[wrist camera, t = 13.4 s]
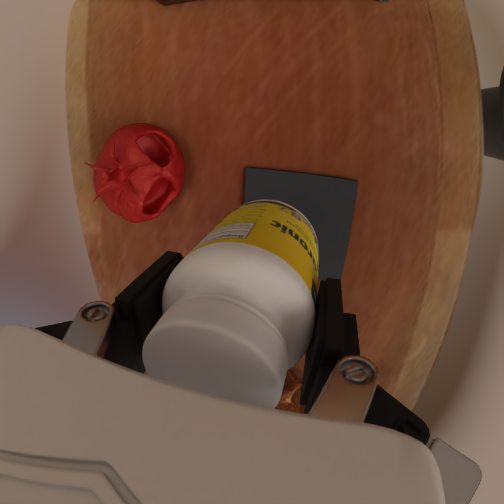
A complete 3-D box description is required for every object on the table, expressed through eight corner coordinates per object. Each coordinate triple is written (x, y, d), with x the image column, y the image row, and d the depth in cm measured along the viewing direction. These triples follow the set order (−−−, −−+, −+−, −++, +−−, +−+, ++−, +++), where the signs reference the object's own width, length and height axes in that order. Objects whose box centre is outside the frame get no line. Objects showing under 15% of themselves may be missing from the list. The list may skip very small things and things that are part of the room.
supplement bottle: (332, 275, 16) (329, 431, 7) (243, 298, 18) (178, 435, 9) (299, 181, 14) (261, 272, 6) (205, 215, 16) (87, 317, 7)
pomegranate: (122, 206, 34) (72, 232, 25) (119, 125, 30) (63, 131, 21) (195, 213, 32) (153, 244, 24) (196, 121, 28) (149, 121, 20)
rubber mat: (357, 180, 27) (358, 181, 27) (339, 280, 32) (340, 282, 31) (246, 167, 29) (246, 167, 29) (241, 265, 33) (240, 267, 33)
